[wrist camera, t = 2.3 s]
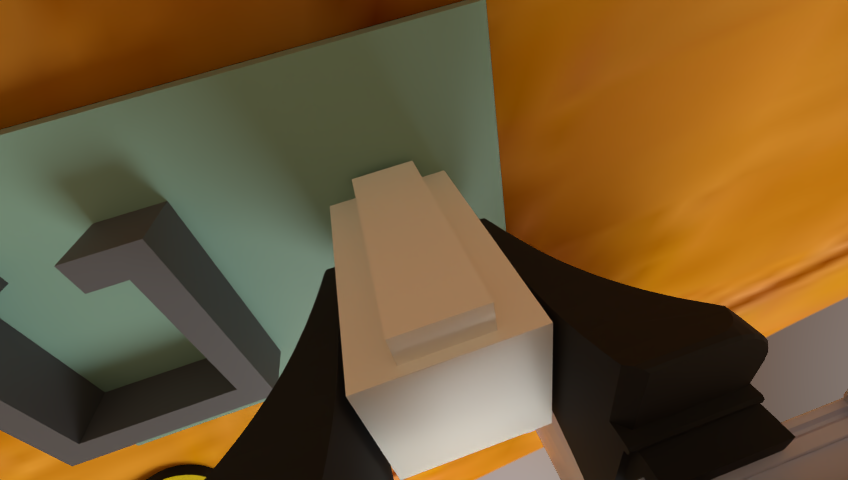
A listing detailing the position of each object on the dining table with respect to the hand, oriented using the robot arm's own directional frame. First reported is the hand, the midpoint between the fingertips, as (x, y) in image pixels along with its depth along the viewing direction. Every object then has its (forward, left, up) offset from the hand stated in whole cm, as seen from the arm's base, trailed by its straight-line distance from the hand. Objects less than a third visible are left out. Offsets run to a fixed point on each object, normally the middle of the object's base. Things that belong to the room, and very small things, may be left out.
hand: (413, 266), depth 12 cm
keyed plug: (0, 0, -2) cm, 2 cm away
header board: (0, +5, -3) cm, 6 cm away
